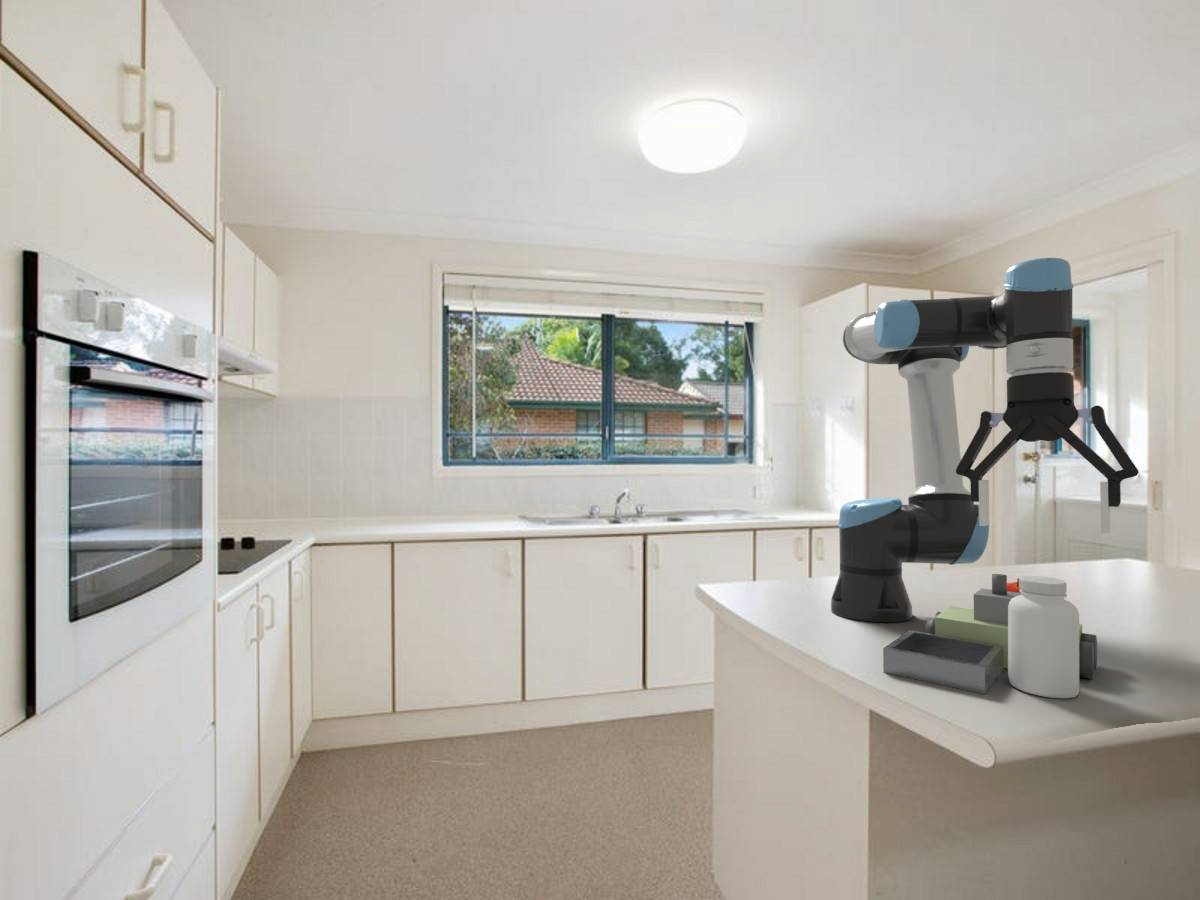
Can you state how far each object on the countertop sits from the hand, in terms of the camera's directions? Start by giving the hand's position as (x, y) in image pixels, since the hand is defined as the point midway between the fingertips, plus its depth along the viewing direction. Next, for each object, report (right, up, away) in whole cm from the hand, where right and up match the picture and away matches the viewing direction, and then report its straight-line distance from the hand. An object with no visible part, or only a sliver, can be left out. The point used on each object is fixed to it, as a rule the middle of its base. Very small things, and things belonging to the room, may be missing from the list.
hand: (1041, 528), depth 85 cm
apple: (+22, -23, +37) cm, 48 cm away
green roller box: (+3, -22, +12) cm, 25 cm away
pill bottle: (0, -22, 0) cm, 22 cm away
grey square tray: (-10, -22, +7) cm, 25 cm away
